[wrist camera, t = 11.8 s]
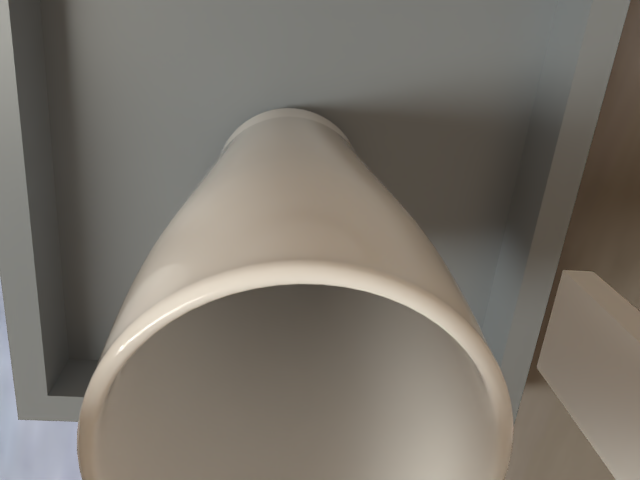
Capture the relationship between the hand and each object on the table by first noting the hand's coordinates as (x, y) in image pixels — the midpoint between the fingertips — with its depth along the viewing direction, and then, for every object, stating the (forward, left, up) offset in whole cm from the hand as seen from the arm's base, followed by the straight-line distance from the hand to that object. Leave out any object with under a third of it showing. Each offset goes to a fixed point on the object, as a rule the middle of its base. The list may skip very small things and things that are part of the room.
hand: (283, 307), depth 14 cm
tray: (0, 0, -11) cm, 11 cm away
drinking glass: (0, 0, -10) cm, 10 cm away
